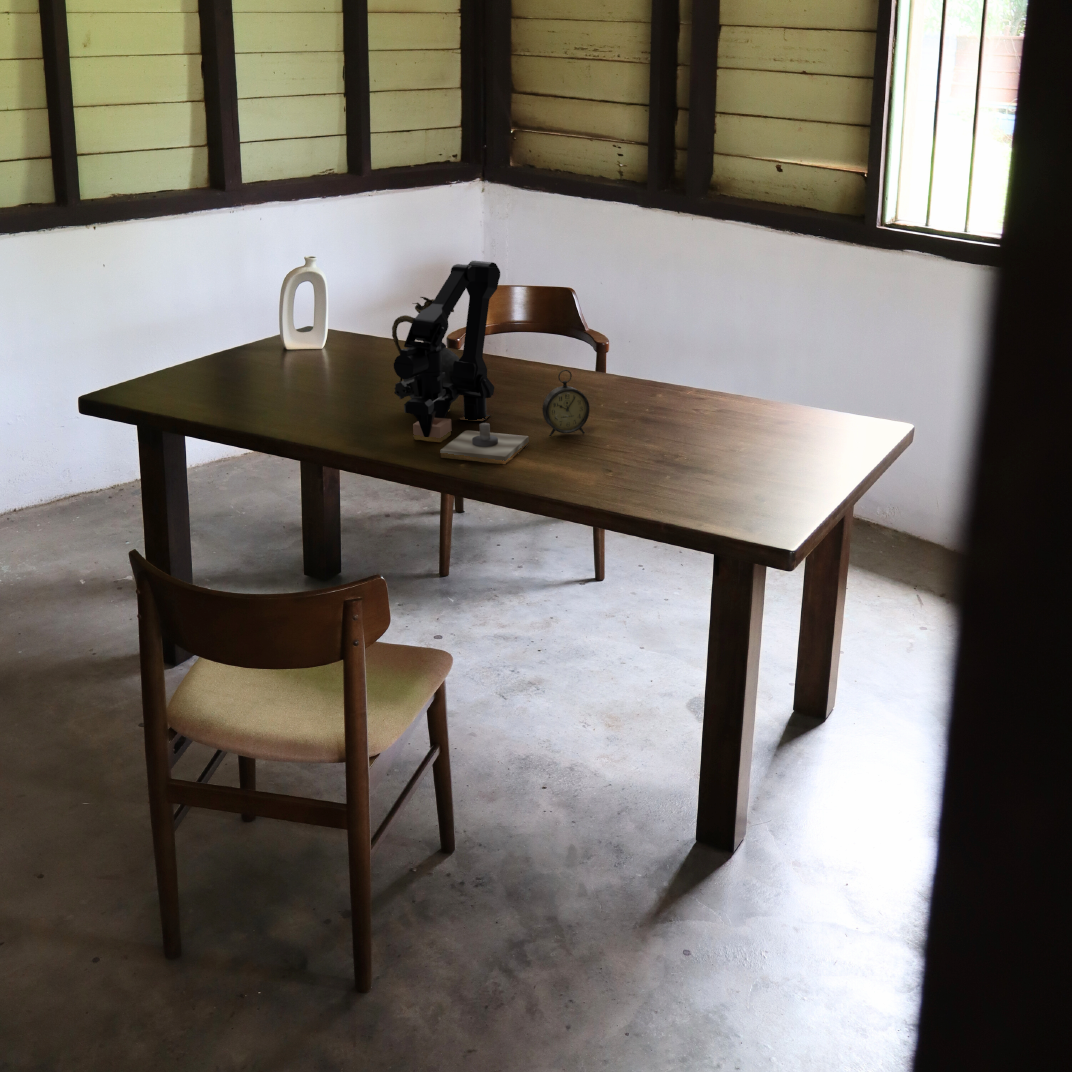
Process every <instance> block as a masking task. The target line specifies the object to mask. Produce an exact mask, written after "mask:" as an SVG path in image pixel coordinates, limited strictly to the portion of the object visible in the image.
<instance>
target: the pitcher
mask: <svg viewBox="0 0 1072 1072" xmlns="http://www.w3.org/2000/svg"><path fill="white" fill-rule="evenodd" d="M419 298H420V299H423V300H424V303H423V305H421V303H419V302H415V303H413V302H412V304H413V305H415V306H414V309H415V311H416V312H417V313H418V314H419V313H420V312H421V311H422V310H424V309H426V308H428V307H429V306H430V305H431V304H432V303H433V301H434V299H435V298H433V299H430V298H429V297H426V296H419ZM451 313H455V310H454V309H453V310H452V312H451ZM415 318H416V317H412V316H411V315H407V314H406V315H400V316H398V317H397V318H396V319H395V320H394V321H393V324H392V327H391V331H392V334H391V337H392V339H393V342H394V344H395V347H396V349H397V351H398V353H399V354H400V350H401V349H402V348H401V346H400V344H399V338H398V332H397V331H398V327H399V325H400V324H401V323H410V324H412V322H413V320H414V319H415ZM422 342H425V341H422ZM425 343H430V342H425ZM441 357H442V372H445V377H444V378H442V383H449V384H453V382H452V373H453V364H454V362H455V361H458V360H459V359H460V357H459V356H458V355H457V354H456V353H455V352H453V351H452V350H451V349H450V348H447V347H446V348H443V349H441ZM399 378H400V377H399ZM413 379H414V377H412V378H409V379H402V378H400V379H399V381H398V382H399V383H400V382H402V381H404V382H406V381H410V380H413ZM447 395H448V398H451V397H450V394H447ZM459 397H460V395H456V396H455V397H453V401H452V403H453V402H455V401H457V399H458V398H459ZM409 398H410V399H412V398H421V397H414V394H413V395H410V396H409ZM450 408H451V407H450ZM450 408H449V409H450Z"/></svg>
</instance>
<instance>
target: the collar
mask: <svg viewBox="0 0 1072 1072" xmlns="http://www.w3.org/2000/svg"><path fill="white" fill-rule="evenodd" d="M412 428H413V429H412V430H413V431H412V432H413V434H414V435H420V436H424V435H423V432H422V429H421V427H420V424H419V422H418V420H417V421H416V422H415V423H413V424H412ZM450 431H452V419H451V418H446V417H445V418H435V417H434V421H433V424H432V428H431V432H430V435H429V437H436V438H441V437H443V436H444V435H446V434H447V433H448V432H450ZM452 432H453V431H452ZM414 435H413V436H414Z"/></svg>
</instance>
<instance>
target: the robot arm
mask: <svg viewBox="0 0 1072 1072" xmlns="http://www.w3.org/2000/svg"><path fill="white" fill-rule="evenodd" d="M500 279H501V269H500V268H499V267H498V264H497V263H495V262H492V261H482V260H481V261H480V260H471V261H469V263H468V264H460V263H455V264H454V265H452V267H451V269H450V273H449V275H448V276H447V279H446V280H445V282H444V284H443V285H442V287H441V288H440V290H439V292H438V293H437V295H436V296H435V298H433V299H434V301H433V303H432V304H431V305H430V306H429V307H428V308H426V309H424V310H422V311H421V312H420V313H418V314H417V315H416V316H415V317H414V318H415V319H414V320H413V322H412V323H411V325H410V328H409V331H408V333H407V336H406V339H405V342H404V344H403V347H404V348H401V350H400V353H399V355H397V356H396V358H395V359H394V362H393V370H394V373H395V374H396V375H397V377H399V378H402V381H401V382H400V383H399V381H398V382H396V383H395V384H394V385H395V386H394V395H396V396H397V397H399V400H403V399H405V398H406V397H410V395H413V394H414V397H421V398H410V399H409V400H407V401H406V402H405V403H404V404H403V407H404V409H403V410H404V413H405V414H410V415H413V416H415V418H416V419H417V421H418V422H419V424H420V427H421V429H422V432H423V435H424V437H429V435H430V432H431V428H432V424H433V421H434V417H435V418H446V417H447V414H448V413H447V412H448V410H449V408H451V405H452V403H453V402H454V401H453V397H455V396H456V395H459V396H463V415H464V417H465V419H468V420H477V419H482V418H484V419H486V418H485V417H486V416H490V415H487V414H486V413H487V399H489V398H492V396H494V391H495V385H493V383H492V382H491V380H490V379H489V378H488V367H487V365H486V363H485V360H484V356H483V355H484V346H485V345H484V344H485V338H486V331H487V322H488V314H489V308H490V306H489V305H490V300H491V298H492V297H493V295H495V294H494V293H495V292H497V290H498V286H499V281H500ZM465 291H467V294H468V297H469V298H468V299H469V300H468V306H467V307H468V309H467V316H466V324H465V333H464V341H463V350H462V355H461V356H460V357H459V360H458V361H455V362H454V364H453V373H452V382H453V384H449V383H442V378H444V377H445V372H442V357H441V349H443V348H447V345H446V344H445V343H444V342H443V339H444V338H445V336H446V333H447V331H448V329H449V318H450V315H451V314H452V313H453V312H452V310H453V309H454V308H455V307H456V305H457V304H458V302H459V300H460V299H461V297H462V296H463V294H464V292H465ZM423 341H425V342H430V343H425V342H423ZM412 377H414V379H413V380H410V381H406V382H404V381H403V379H409V378H412ZM447 394H450V397H451V398H448V395H447ZM452 401H453V402H452ZM490 417H491V416H490ZM486 420H487V419H486Z"/></svg>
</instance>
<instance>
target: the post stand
mask: <svg viewBox="0 0 1072 1072" xmlns="http://www.w3.org/2000/svg"><path fill="white" fill-rule="evenodd" d="M529 437H530V436H528V435H521V434H520V435H518V434H511V433H509V434H508V433H499V432H491V425H490V423H488V422H480V423H479V431H478V430H467V429H466V430H464V431H463V432H462V433H460V434H459V435H458V436H457V437H456V438H454V439H453V440H451V441H450V442H448V443H447V444H446V445H444V447H442V448H441V449H440V450H439V451H440V453H448V454H454V455H464V456H470V457H478V458H488V459H495V460H502V461H503V460H504V461H506V460H507V459H508V458H510V457H511V456H512V455H513V454H514V453H515V452H517V451H518V450H519V449H520V448H522V446H524V445H525V444H526V443H528V442H529V443H530V441H529V440H530V439H529Z"/></svg>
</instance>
